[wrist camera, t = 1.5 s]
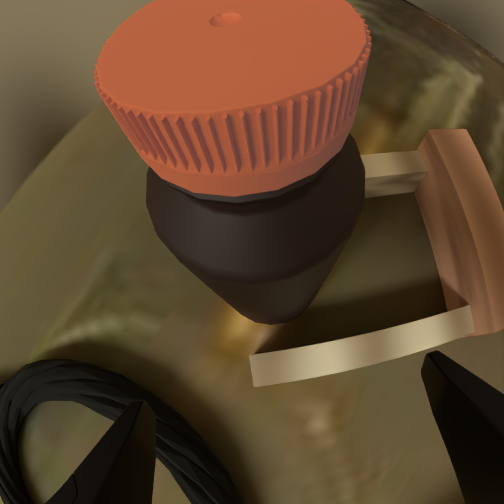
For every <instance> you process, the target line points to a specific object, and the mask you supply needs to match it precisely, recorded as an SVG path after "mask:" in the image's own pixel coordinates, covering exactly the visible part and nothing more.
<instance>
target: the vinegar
mask: <svg viewBox="0 0 504 504" xmlns="http://www.w3.org/2000/svg"><path fill="white" fill-rule="evenodd" d="M356 10H357V9H353V7H352V6H351V4H349V3H348V2H346V1H345V0H155V1H153V2H151V3H149V4H147V5H145V6H144V7H142V8H141V9H140V10H138V11H137V12H136V13H135V14H133V15H132V16H130V17H129V18H128V19H127V20H126V21H124V22H123V23H122V24H121V25H120V26H119V27H118V28H117V29H116V30H115V32H114V33H113V34H112V35H111V37H110V38H109V39H108V40H107V42H106V43H105V44H104V46H103V49H102V51H101V52H100V53H99V54H100V57H99V58H97V61H98V63H97V64H96V65H95V67H96V70H95V71H94V73H95V75H96V76H94V79H95V81H96V82H95V85H96V87H97V89H96V90H97V91H98V93H99V94H100V97H101V98H102V100H103V101H104V103H105V104H106V106H107V107H108V109H109V110H110V112H111V113H112V115H113V116H114V118H115V119H116V121H117V122H118V124H119V125H120V127H121V128H122V130H123V131H124V133H125V134H126V135H127V137H128V139H129V140H130V142H131V143H132V145H133V146H134V148H135V149H136V151H137V152H138V154H139V155H140V156H141V158H142V159H143V160H144V161H145V162H146V163H147V164H148V165H149V169H148V172H147V190H146V205H147V208H148V211H149V214H150V217H151V220H152V222H153V225H154V228H155V231H156V234H157V235H158V237H159V238H160V239H161V240H162V242H163V243H164V244H165V245H166V246H167V247H168V249H169V250H170V251H171V252H172V253H173V254H174V255H175V257H176V258H177V259H178V260H179V261H180V262H181V263H182V264H183V265H184V266H185V267H186V268H188V269H189V270H190V271H191V272H192V273H193V274H194V275H196V276H197V277H198V278H199V279H200V280H201V281H202V282H204V283H205V284H206V285H207V286H208V287H209V288H211V289H212V290H213V291H214V292H215V293H216V294H218V295H219V296H220V297H221V298H222V299H224V300H225V301H226V302H227V303H228V304H229V305H231V306H232V307H233V308H234V309H235V310H237V311H238V312H239V313H240V314H241V315H243V316H245V317H247V318H248V319H250V320H252V321H254V322H257V323H263V324H269V325H272V324H279V323H285V322H287V321H289V320H291V319H293V318H295V317H297V316H299V315H300V314H301V313H302V312H303V311H304V310H305V309H306V308H307V307H308V306H309V305H310V303H311V302H312V300H313V298H314V297H315V295H316V294H317V292H318V290H319V289H320V287H321V285H322V284H323V282H324V281H325V279H326V277H327V276H328V274H329V272H330V271H331V269H332V267H333V266H334V264H335V262H336V260H337V259H338V257H339V255H340V254H341V252H342V250H343V248H344V247H345V245H346V243H347V241H348V240H349V238H350V236H351V234H352V232H353V230H354V227H355V225H356V222H357V220H358V218H359V215H360V213H361V211H362V208H363V206H364V202H365V167H364V164H363V162H362V159H361V156H360V153H359V150H358V148H357V145H356V142H355V140H354V138H353V137H352V136H351V135H350V133H349V132H350V130H351V128H352V126H353V123H354V119H355V116H356V112H357V108H358V104H359V100H360V94H361V90H362V85H363V81H364V77H365V72H366V68H367V63H368V59H369V54H370V49H371V44H372V43H370V42H371V37H370V31H369V30H367V29H368V25H366V24H364V23H365V19H362V18H361V14H358V13H357V12H356Z"/></svg>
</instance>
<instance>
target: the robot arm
mask: <svg viewBox="0 0 504 504" xmlns="http://www.w3.org/2000/svg"><path fill="white" fill-rule="evenodd" d="M421 376H422V379H423V382H424V386H425V389H426V392H427V396H428V399H429V402H430V406H431V409H432V413H433V415H434V418H435V421H436V423H437V425H438V428H439V430H440V433H441V436H442V438H443V441H444V443H445V446H446V448H447V451H448V454H449V457H450V459H451V462H452V465H453V468H454V470H455V473H456V476H457V479H458V482H459V485H460V488H461V491H462V494H463V497H464V501H465V504H504V394H502V393H501V392H500V391H498V390H497V389H495V388H494V387H492V386H491V385H489V384H488V383H486V382H485V381H483V380H482V379H480V378H479V377H477V376H476V375H474V374H473V373H471V372H470V371H468V370H467V369H465V368H464V367H462V366H461V365H459V364H458V363H456V362H455V361H453V360H452V359H450V358H449V357H447V356H446V355H444V354H443V353H441V352H440V351H433V352H430V353H427V354H426V355H425V358H424V362H423V365H422V368H421ZM155 462H156V418H155V414H154V413H153V411H152V410H151V408H150V407H149V405H148V404H147V402H146V401H144V400H133V401H132V402H131V403H130V404H129V405H128V406H127V408H126V409H125V410H124V411H123V412H122V414H121V415H120V416H119V417H118V419H117V420H116V421H115V422H114V423H113V425H112V426H111V427H110V428H109V430H108V431H107V432H106V433H105V435H104V436H103V437H102V438H101V439H100V441H99V442H98V443H97V444H96V446H95V447H94V448H93V449H92V450H91V452H90V453H89V454H88V455H87V457H86V458H85V459H84V460H83V461H82V463H81V464H80V465H79V466H78V468H77V469H76V470H75V471H74V474H72V475H71V476H70V477H69V479H68V480H67V481H66V482H65V483H64V484H63V486H62V487H61V488H60V489H59V490H58V491H57V492H56V493H55V494H54V495H53V496H52V497H51V498H50V499H49V500H48V501H47V502H46V503H45V504H152V494H153V483H154V472H155Z"/></svg>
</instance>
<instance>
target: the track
mask: <svg viewBox="0 0 504 504" xmlns="http://www.w3.org/2000/svg"><path fill="white" fill-rule="evenodd" d="M360 156H361V159H362V162H363V164H364V167H365V198H371V197H378V196H386V195H393V194H401V193H409V192H414V195H415V198H416V200H417V203H418V206H419V209H420V212H421V215H422V218H423V221H424V224H425V227H426V230H427V233H428V237H429V240H430V243H431V247H432V250H433V254H434V258H435V261H436V265H437V269H438V273H439V277H440V281H441V285H442V289H443V294H444V298H445V303H446V307H447V312H444V313H441V314H437V315H434V316H431V317H427V318H424V319H420V320H417V321H413V322H409V323H405V324H402V325H398V326H394V327H390V328H386V329H382V330H378V331H374V332H370V333H365V334H361V335H357V336H352V337H347V338H343V339H338V340H333V341H328V342H323V343H318V344H313V345H307V346H302V347H296V348H291V349H285V350H279V351H272V352H266V353H259V354H253V355H249V358H250V365H251V371H252V378H253V384H254V387H258V386H266V385H273V384H279V383H285V382H292V381H297V380H303V379H309V378H314V377H319V376H324V375H329V374H334V373H338V372H343V371H348V370H352V369H356V368H360V367H365V366H369V365H373V364H376V363H380V362H384V361H388V360H391V359H395V358H399V357H402V356H406V355H409V354H412V353H416V352H419V351H422V350H425V349H429V348H432V347H435V346H438V345H441V344H444V343H447V342H449V341H452V340H455V339H458V338H462V337H469V336H476V335H483V334H490V333H496V332H498V331H500V330H503V329H504V211H503V208H502V205H501V203H500V200H499V198H498V195H497V193H496V190H495V188H494V186H493V183H492V181H491V179H490V176H489V174H488V172H487V170H486V167H485V165H484V163H483V161H482V159H481V157H480V155H479V153H478V151H477V149H476V147H475V145H474V143H473V141H472V139H471V137H470V135H469V133H468V132H467V130H466V129H428V131H427V132H426V134H425V136H424V138H423V140H422V141H421V143H420V145H419V147H418V148H417V150H415V151H401V152H389V153H377V154H367V155H360Z"/></svg>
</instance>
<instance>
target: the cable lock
mask: <svg viewBox="0 0 504 504" xmlns="http://www.w3.org/2000/svg"><path fill="white" fill-rule="evenodd" d="M133 400H144V401H146V402H147V404H148V405H149V407H150V408H151V410H152V411H153V413H154V414H155V418H156V457H157V458H158V459H159V460H160V461H161V462H162V463H163V464H164V465H165V467H166V468H167V469H168V470H169V471H170V472H171V474H172V476H173V477H174V479H175V480H176V482H177V483H178V485H179V486H180V488H181V489H182V491H183V492H184V493H185V495H186V496H187V498H188V499H189V501H190V502H191V504H243V501H242V499H241V498H240V496H239V495H238V493H237V491H236V489H235V487H234V485H233V482H232V480H231V478H230V476H229V474H228V472H227V470H226V469H225V468H224V466H223V465H222V464H221V463H220V461H219V460H218V459H217V458H216V456H215V455H214V454H213V452H212V451H211V450H210V449H209V447H208V446H207V444H206V443H205V441H204V440H203V439H202V438H201V437H200V436H199V435H198V434H197V433H196V432H195V431H194V429H193V428H192V427H191V426H190V425H189V424H188V423H187V422H186V421H185V420H184V418H183V417H182V416H181V415H180V414H178V413H177V412H176V411H174V410H173V409H172V408H170V407H169V406H168V405H166V404H165V403H164V402H162V401H161V400H160V399H159V398H157V397H156V396H155V395H153V394H152V393H151V392H149V391H147V390H145V389H143V388H142V387H140V386H138V385H137V384H135V383H133V382H132V381H130V380H129V379H127V378H126V377H124V376H123V375H120V374H118V373H115V372H112V371H109V370H106V369H104V368H101V367H98V366H96V365H93V364H87V363H81V362H77V361H74V360H70V359H56V360H40V361H37V362H33V363H30V364H27V365H25V366H24V367H22V368H21V369H20V370H19V371H18V372H17V373H16V374H14V375H13V376H12V377H11V378H10V379H8V380H7V381H5V382H2V383H0V496H1V498H2V501H3V503H4V504H32V503H31V501H30V498H29V496H28V494H27V492H26V490H25V488H24V486H23V483H22V481H21V479H20V474H19V468H18V461H17V453H16V437H17V433H18V430H19V428H20V426H21V423H22V421H23V419H24V417H25V416H26V415H27V413H28V412H29V411H30V409H31V408H32V407H33V406H35V405H37V404H39V403H41V402H44V401H74V402H77V403H81V404H82V405H84V406H86V407H88V408H90V409H92V410H93V411H95V412H97V413H99V414H101V415H103V416H105V417H107V418H109V419H111V420H113V421H116V420H117V419H118V417H119V416H120V415H121V414H122V412H123V411H124V410H125V409H126V408H127V406H128V405H129V404H130V403H131V402H132V401H133Z"/></svg>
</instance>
